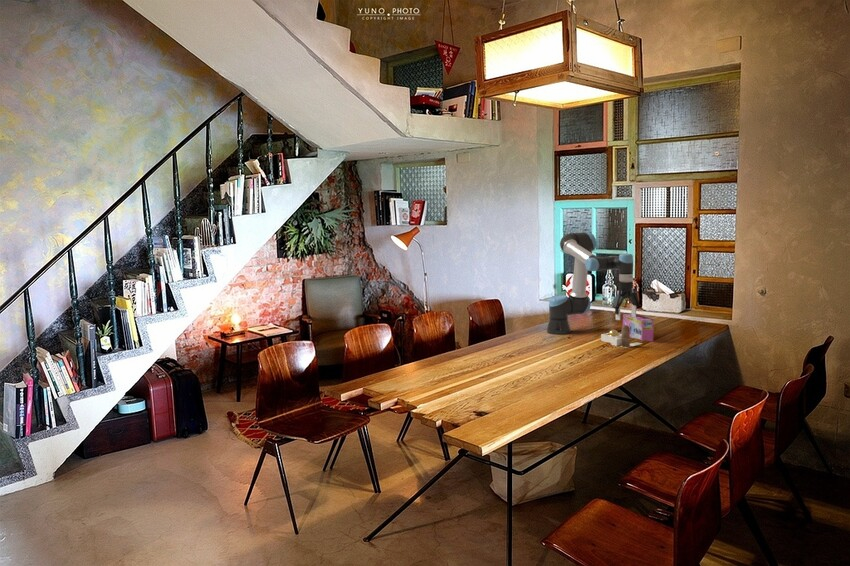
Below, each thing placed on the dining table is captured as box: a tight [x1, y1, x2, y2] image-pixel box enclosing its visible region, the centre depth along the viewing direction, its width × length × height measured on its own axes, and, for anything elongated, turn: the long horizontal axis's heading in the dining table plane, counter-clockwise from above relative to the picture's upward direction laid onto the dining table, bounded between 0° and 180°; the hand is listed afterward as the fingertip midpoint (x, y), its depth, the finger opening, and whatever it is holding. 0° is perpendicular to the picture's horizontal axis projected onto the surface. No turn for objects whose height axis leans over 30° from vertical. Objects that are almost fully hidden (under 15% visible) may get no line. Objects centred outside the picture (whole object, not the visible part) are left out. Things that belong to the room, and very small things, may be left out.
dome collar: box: [600, 332, 622, 344], centre depth 386 cm, size 10×10×4 cm
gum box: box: [622, 313, 655, 342], centre depth 397 cm, size 24×8×14 cm, turn 13°
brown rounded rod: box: [621, 325, 631, 348], centre depth 371 cm, size 4×4×12 cm
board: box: [620, 341, 643, 349], centre depth 382 cm, size 22×16×1 cm
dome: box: [607, 329, 620, 337], centre depth 386 cm, size 7×7×6 cm
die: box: [610, 337, 622, 347], centre depth 377 cm, size 4×4×4 cm
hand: (625, 318), depth 370 cm, fingers open, 13 cm apart
